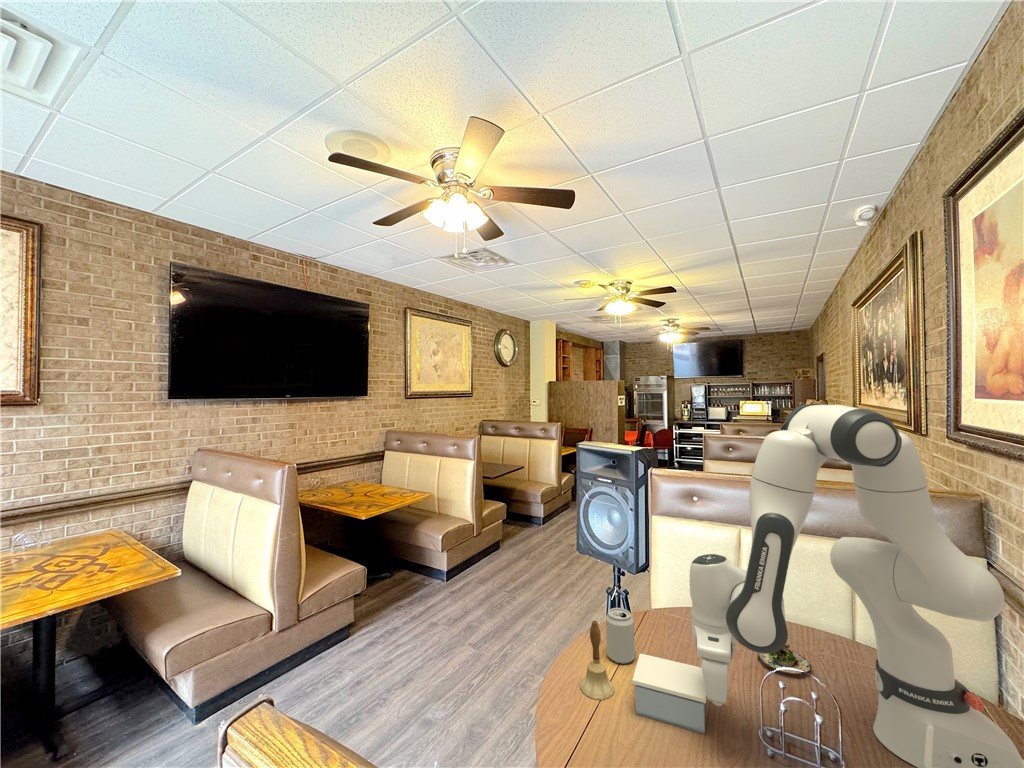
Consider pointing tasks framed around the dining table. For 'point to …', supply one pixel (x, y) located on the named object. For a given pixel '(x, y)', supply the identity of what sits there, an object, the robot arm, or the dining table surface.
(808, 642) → the dining table surface
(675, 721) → the tub
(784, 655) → the burger
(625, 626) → the can
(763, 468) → the robot arm
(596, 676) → the hand bell
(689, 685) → the lid
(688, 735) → the dining table surface
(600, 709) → the dining table surface
